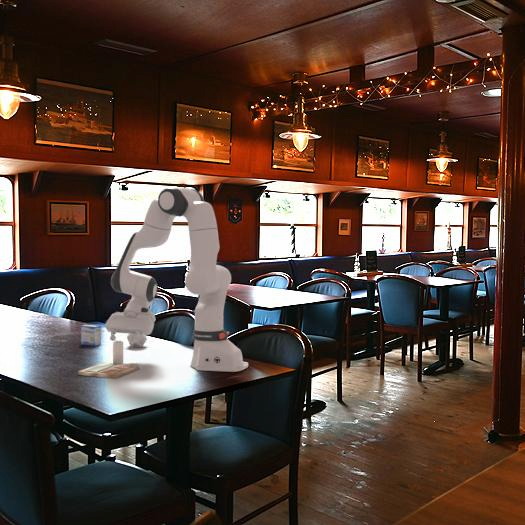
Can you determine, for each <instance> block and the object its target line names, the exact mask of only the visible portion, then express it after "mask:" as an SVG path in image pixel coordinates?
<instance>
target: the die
mask: <svg viewBox="0 0 525 525" xmlns="http://www.w3.org/2000/svg"><path fill="white" fill-rule="evenodd" d="M127 334H128V333H127ZM135 335H136V334H128V335H127V336H126V338H127V341H128V344H129V346H130V348H143V347H144V345H145V343H146V342H147V341H148V339H147V335H141V337H139V338H138V339H137V340H136V342H135V343H133V342H131V341H130V340H131V337H134V336H135Z"/></svg>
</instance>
